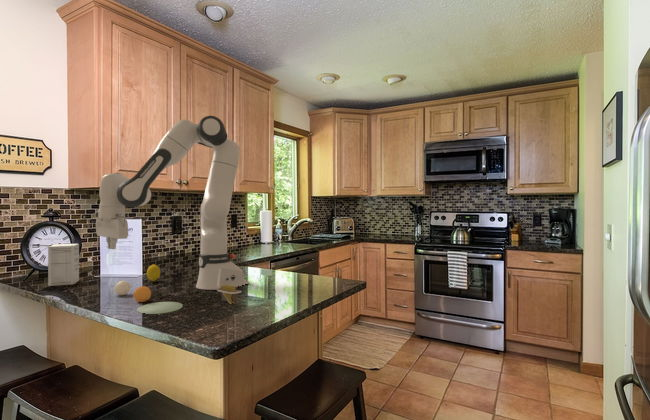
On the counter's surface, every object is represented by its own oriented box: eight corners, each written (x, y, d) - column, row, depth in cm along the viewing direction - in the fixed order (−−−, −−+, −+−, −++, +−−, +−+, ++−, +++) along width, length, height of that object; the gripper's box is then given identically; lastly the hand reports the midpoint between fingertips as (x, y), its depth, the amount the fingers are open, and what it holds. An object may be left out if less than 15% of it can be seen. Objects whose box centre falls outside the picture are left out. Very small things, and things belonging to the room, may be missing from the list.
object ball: (148, 299, 130) (148, 284, 130) (153, 302, 126) (153, 286, 126) (131, 301, 126) (131, 286, 126) (136, 304, 122) (136, 288, 122)
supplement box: (79, 280, 160) (80, 243, 160) (74, 284, 152) (75, 245, 152) (53, 281, 156) (54, 243, 156) (47, 286, 148) (47, 246, 148)
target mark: (173, 300, 129) (173, 299, 129) (189, 308, 119) (189, 307, 119) (131, 307, 119) (131, 306, 119) (144, 316, 109) (144, 316, 109)
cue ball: (128, 292, 139) (128, 278, 139) (132, 295, 135) (132, 281, 135) (112, 295, 135) (112, 280, 135) (116, 297, 131) (116, 283, 131)
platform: (233, 312, 117) (233, 292, 117) (197, 303, 126) (197, 285, 126) (257, 304, 127) (258, 285, 127) (222, 296, 136) (222, 279, 136)
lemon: (162, 280, 162) (162, 263, 162) (155, 283, 157) (155, 265, 157) (151, 280, 163) (151, 262, 163) (143, 282, 157) (144, 264, 157)
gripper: (133, 214, 137) (132, 250, 137) (109, 213, 149) (109, 246, 149) (115, 214, 132) (115, 251, 132) (92, 213, 144) (92, 247, 144)
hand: (111, 248), depth 140 cm, fingers closed
